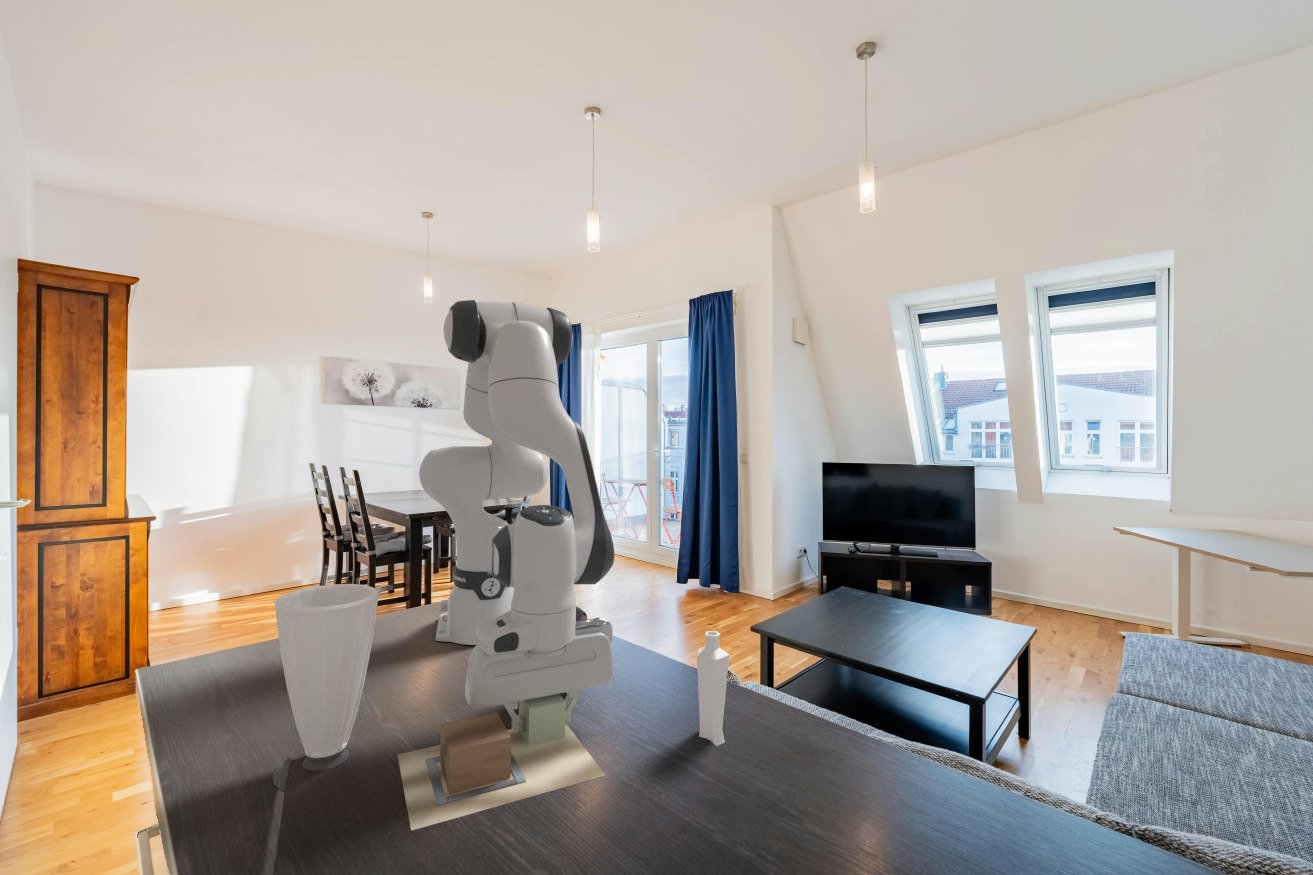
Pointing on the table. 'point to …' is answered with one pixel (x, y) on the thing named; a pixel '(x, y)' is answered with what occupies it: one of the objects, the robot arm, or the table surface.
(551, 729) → the top block
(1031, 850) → the table surface
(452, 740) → the base block
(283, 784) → the cup
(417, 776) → the build board
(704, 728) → the perfume bottle
